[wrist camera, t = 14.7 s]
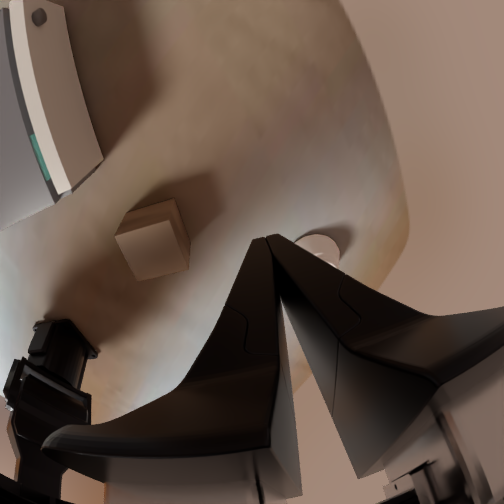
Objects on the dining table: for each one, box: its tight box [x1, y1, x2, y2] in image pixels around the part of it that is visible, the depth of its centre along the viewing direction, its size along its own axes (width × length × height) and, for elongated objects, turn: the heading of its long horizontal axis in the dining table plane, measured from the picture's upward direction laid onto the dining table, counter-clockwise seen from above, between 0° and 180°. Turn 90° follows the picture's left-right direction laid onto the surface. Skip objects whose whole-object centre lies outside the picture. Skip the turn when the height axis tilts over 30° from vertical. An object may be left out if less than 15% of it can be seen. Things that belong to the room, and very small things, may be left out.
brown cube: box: [114, 199, 190, 282], centre depth 20 cm, size 4×4×4 cm
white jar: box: [295, 234, 340, 269], centre depth 24 cm, size 5×3×5 cm
